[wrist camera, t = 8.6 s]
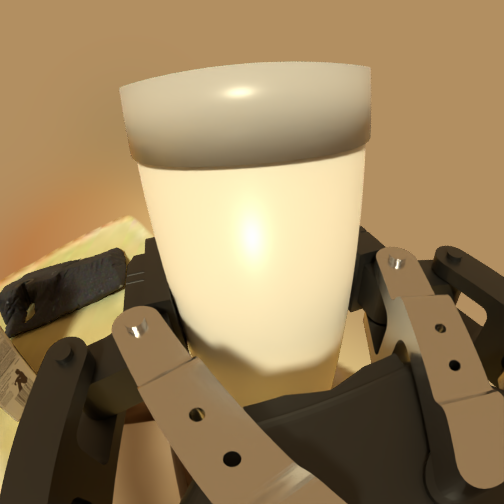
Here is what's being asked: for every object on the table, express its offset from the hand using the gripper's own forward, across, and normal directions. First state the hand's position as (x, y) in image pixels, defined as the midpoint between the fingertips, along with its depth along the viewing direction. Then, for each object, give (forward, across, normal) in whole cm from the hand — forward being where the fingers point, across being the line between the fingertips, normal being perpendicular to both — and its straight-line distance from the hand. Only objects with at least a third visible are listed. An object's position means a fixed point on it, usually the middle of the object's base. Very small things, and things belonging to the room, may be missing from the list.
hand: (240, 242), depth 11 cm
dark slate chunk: (+27, +23, +19) cm, 40 cm away
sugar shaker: (-3, 0, +8) cm, 8 cm away
